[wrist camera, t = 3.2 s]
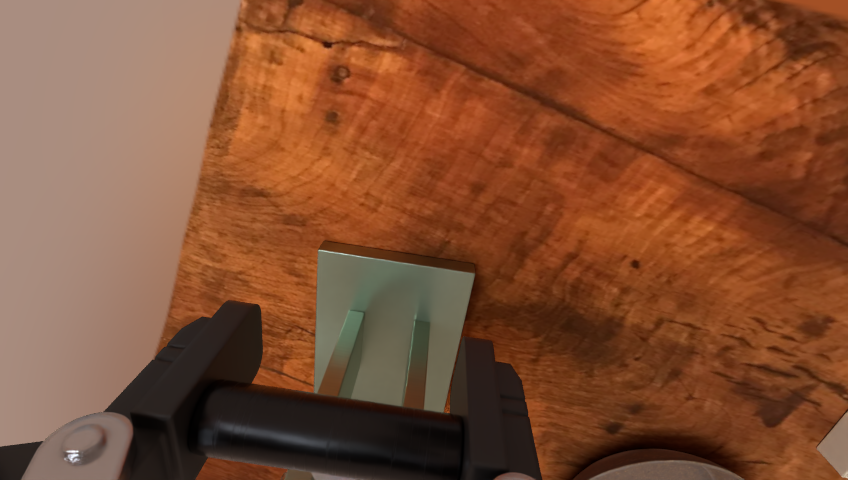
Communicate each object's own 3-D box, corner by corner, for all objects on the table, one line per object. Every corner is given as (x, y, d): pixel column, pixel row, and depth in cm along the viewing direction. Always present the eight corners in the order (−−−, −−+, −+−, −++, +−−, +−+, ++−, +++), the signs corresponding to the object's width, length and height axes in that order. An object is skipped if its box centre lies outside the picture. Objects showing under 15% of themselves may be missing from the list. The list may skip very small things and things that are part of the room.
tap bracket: (323, 240, 24) (207, 421, 13) (474, 263, 24) (494, 463, 13) (318, 388, 29) (232, 610, 18) (442, 407, 29) (436, 641, 18)
